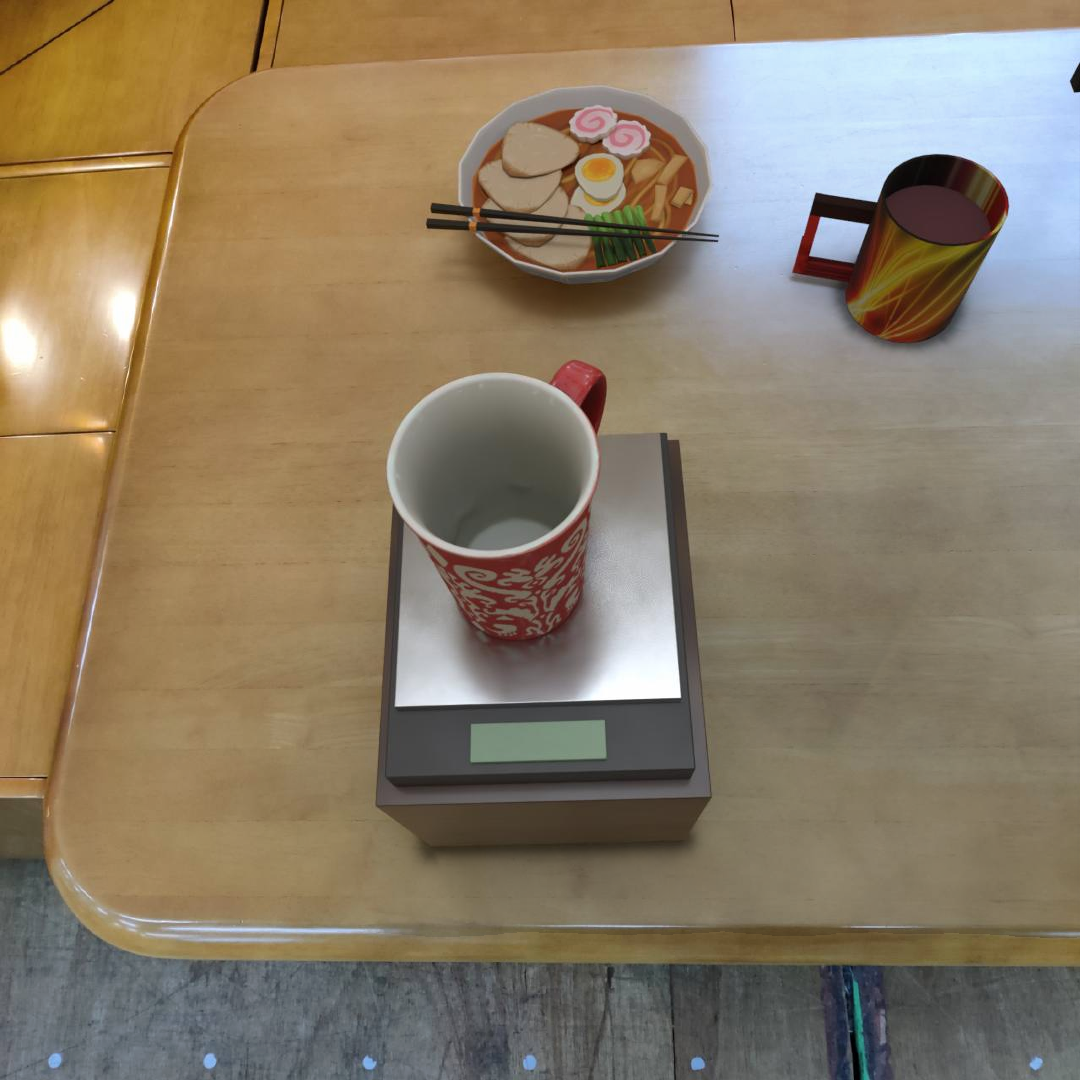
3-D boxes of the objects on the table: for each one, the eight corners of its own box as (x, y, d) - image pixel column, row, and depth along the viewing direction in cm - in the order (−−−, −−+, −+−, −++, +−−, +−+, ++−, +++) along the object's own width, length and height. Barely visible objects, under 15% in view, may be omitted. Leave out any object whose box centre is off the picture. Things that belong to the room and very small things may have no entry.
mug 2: (787, 274, 86) (814, 173, 75) (933, 249, 86) (982, 144, 75) (817, 359, 82) (851, 265, 71) (971, 332, 82) (1028, 234, 71)
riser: (684, 840, 65) (712, 797, 49) (430, 846, 66) (374, 806, 50) (662, 555, 75) (679, 439, 58) (439, 563, 75) (395, 451, 59)
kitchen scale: (691, 778, 50) (697, 766, 46) (394, 787, 50) (380, 775, 47) (664, 453, 58) (668, 424, 55) (410, 464, 59) (399, 436, 56)
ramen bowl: (727, 157, 92) (738, 85, 85) (703, 344, 83) (713, 282, 76) (481, 137, 95) (471, 67, 88) (432, 315, 86) (416, 253, 79)
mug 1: (536, 692, 49) (515, 598, 36) (403, 600, 51) (341, 484, 39) (667, 512, 52) (687, 373, 40) (537, 436, 55) (519, 284, 43)
